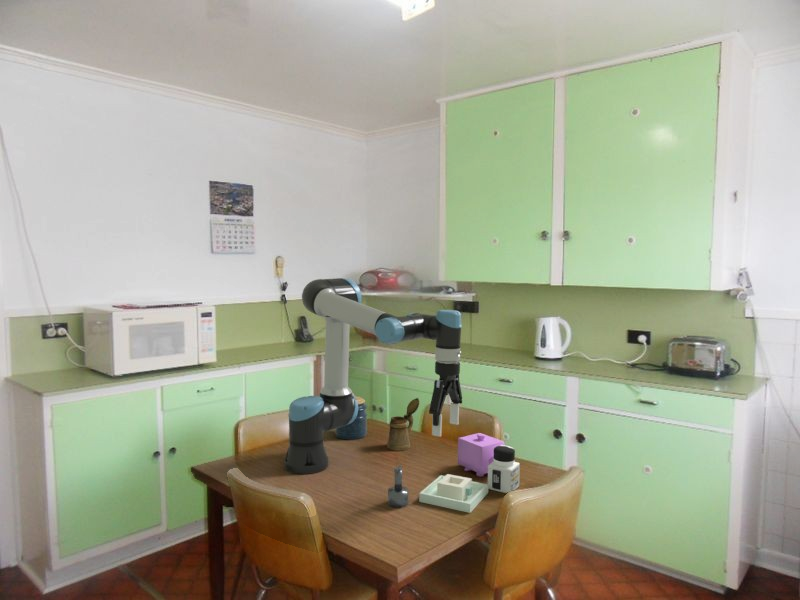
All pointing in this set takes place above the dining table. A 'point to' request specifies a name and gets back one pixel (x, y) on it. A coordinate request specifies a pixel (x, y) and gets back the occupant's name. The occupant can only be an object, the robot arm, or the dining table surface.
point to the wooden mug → (402, 428)
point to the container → (503, 470)
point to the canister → (355, 423)
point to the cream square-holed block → (454, 487)
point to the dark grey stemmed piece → (398, 491)
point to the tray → (467, 505)
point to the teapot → (477, 452)
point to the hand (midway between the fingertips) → (445, 429)
